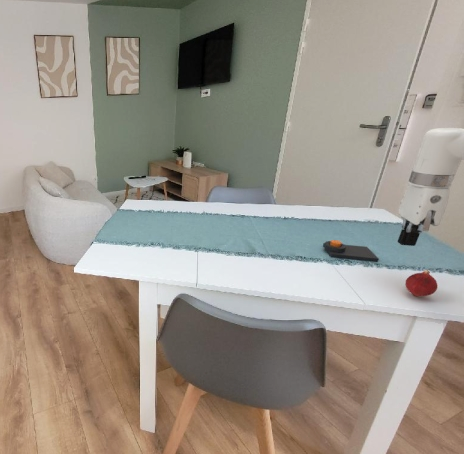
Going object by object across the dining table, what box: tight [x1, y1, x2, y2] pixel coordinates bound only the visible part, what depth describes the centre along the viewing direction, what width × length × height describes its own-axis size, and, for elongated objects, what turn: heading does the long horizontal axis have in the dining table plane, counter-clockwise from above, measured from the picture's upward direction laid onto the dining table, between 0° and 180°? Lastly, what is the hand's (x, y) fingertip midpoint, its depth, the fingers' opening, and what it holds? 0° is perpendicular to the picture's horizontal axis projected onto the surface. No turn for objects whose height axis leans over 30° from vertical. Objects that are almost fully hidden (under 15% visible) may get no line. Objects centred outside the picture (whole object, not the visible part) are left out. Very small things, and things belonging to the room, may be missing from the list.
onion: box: [404, 269, 438, 298], centre depth 78 cm, size 6×6×8 cm
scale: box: [322, 240, 379, 263], centre depth 102 cm, size 14×9×3 cm, turn 70°
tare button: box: [330, 239, 342, 247], centre depth 102 cm, size 3×3×2 cm
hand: (406, 244), depth 81 cm, fingers closed
